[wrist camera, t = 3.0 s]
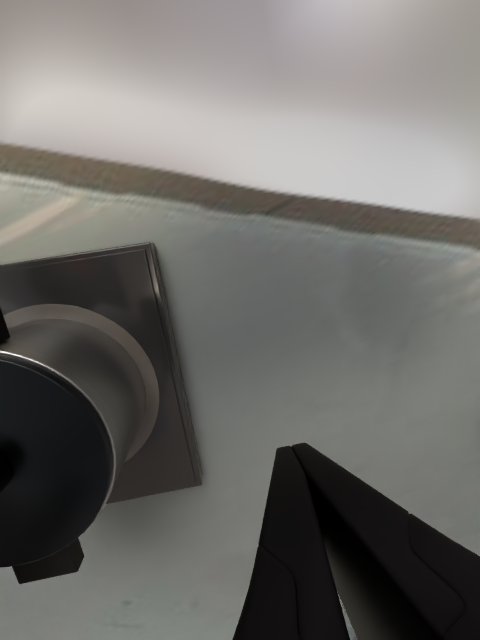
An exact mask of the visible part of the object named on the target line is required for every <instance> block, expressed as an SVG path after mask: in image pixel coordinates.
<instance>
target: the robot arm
mask: <svg viewBox="0 0 480 640" xmlns="http://www.w3.org/2000/svg"><path fill="white" fill-rule="evenodd" d="M336 589H337V590H336ZM337 591H338V593H337ZM338 594H339V596H340V598H341V601H342V603H343V605H344V608H345V610H346V612H347V615H348V617H349V620H350V622H351V624H352V627H353V629H354V631H355V634H356V636H357V638H358V640H480V556H478V555H477V554H475V553H473V552H471V551H470V550H468V549H466V548H465V547H463V546H461V545H460V544H458V543H456V542H454V541H453V540H451V539H450V538H448V537H446V536H445V535H443V534H442V533H440V532H439V531H437V530H436V529H434V528H432V527H431V526H429V525H428V524H426V523H425V522H423V521H422V520H420V519H419V518H417V517H416V516H414V515H413V514H409V513H408V511H407V510H405V509H404V508H402V507H401V506H399V505H398V504H396V503H395V502H393V501H392V500H390V499H389V498H387V497H386V496H384V495H383V494H381V493H380V492H378V491H377V490H375V489H374V488H372V487H371V486H369V485H368V484H366V483H365V482H363V481H362V480H360V479H359V478H357V477H356V476H354V475H353V474H351V473H350V472H349V471H347V470H346V469H344V468H343V467H341V466H340V465H338V464H337V463H335V462H334V461H332V460H331V459H329V458H328V457H326V456H325V455H323V454H322V453H320V452H319V451H317V450H316V449H314V448H313V447H311V446H310V445H308V444H307V443H300V444H295V445H293V446H292V447H291V446H285V447H280V448H277V451H276V456H275V461H274V466H273V471H272V476H271V482H270V487H269V492H268V497H267V502H266V508H265V513H264V518H263V523H262V528H261V534H260V539H259V546H258V548H257V553H256V559H255V564H254V568H253V572H252V577H251V581H250V585H249V589H248V592H247V596H246V599H245V602H244V606H243V609H242V613H241V616H240V619H239V622H238V625H237V628H236V631H235V634H234V637H233V640H350V638H349V634H348V631H347V627H346V623H345V619H344V616H343V612H342V608H341V604H340V601H339V597H338Z"/></svg>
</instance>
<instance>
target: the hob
mask: <svg viewBox="0 0 480 640" xmlns="http://www.w3.org/2000/svg"><path fill="white" fill-rule="evenodd" d="M0 307H1V310H2V313H3V316H4V319H5V322H6V325H7V328H11V327H14V326H17V325H20V324H23V323H26V322H30V321H34V320H39V319H66V320H73V321H77V322H81V323H84V324H87V325H89V326H92V327H94V328H97V329H98V330H100V331H102V332H104V333H106V334H107V335H109V336H110V337H111V338H113V339H114V340H116V341H117V342H118V343H119V344H120V345H121V346H122V347H123V348H124V349H125V350H126V351H127V353H128V354H129V355H130V356H131V358H132V359H133V361H134V362H135V364H136V365H137V368H138V370H139V372H140V374H141V377H142V380H143V383H144V389H145V411H144V415H143V419H142V422H141V425H140V427H139V429H138V431H137V434H136V436H135V438H134V441H133V443H132V445H131V448H130V450H129V452H128V454H127V457H126V459H125V461H124V464H123V466H122V468H121V471H120V473H119V475H118V478H117V480H116V482H115V484H114V487H113V489H112V491H111V494H110V496H109V498H108V500H107V503H106V504H109V503H114V502H119V501H124V500H129V499H134V498H139V497H144V496H149V495H154V494H159V493H164V492H169V491H174V490H179V489H184V488H189V487H194V486H199V485H201V484H202V469H201V465H200V460H199V455H198V450H197V446H196V441H195V436H194V431H193V427H192V422H191V417H190V413H189V408H188V403H187V398H186V394H185V389H184V384H183V379H182V375H181V370H180V365H179V360H178V356H177V351H176V346H175V341H174V337H173V332H172V327H171V323H170V318H169V313H168V308H167V304H166V299H165V294H164V289H163V285H162V280H161V275H160V270H159V266H158V261H157V256H156V251H155V247H154V244H153V243H149V242H148V243H141V244H135V245H128V246H122V247H115V248H109V249H102V250H96V251H89V252H83V253H76V254H69V255H63V256H56V257H50V258H43V259H37V260H30V261H24V262H17V263H11V264H4V265H0Z"/></svg>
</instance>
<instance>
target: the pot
mask: <svg viewBox="0 0 480 640" xmlns="http://www.w3.org/2000/svg"><path fill="white" fill-rule="evenodd" d="M144 411H145V389H144V383H143V380H142V377H141V374H140V372H139V370H138V368H137V365H136V364H135V362H134V361H133V359H132V358H131V356H130V355H129V354H128V353H127V351H126V350H125V349H124V348H123V347H122V346H121V345H120V344H119V343H118V342H117V341H116V340H114V339H113V338H111V337H110V336H109V335H107V334H106V333H104V332H102V331H100V330H98V329H97V328H94V327H92V326H89V325H87V324H84V323H81V322H77V321H73V320H66V319H39V320H34V321H30V322H26V323H23V324H20V325H17V326H14V327H11V328H7V325H6V322H5V319H4V316H3V313H2V310H1V307H0V567H10V566H12V568H13V570H14V573H15V575H16V578H17V580H18V583H19V584H22V583H27V582H32V581H36V580H41V579H46V578H51V577H55V576H60V575H65V574H70V573H74V572H77V571H78V570H79V567H80V565H81V563H82V560H83V558H84V554H83V551H82V548H81V545H80V542H79V539H78V537H79V536H80V535H81V534H83V533H84V532H85V531H86V529H87V528H88V527H89V526H90V525H91V524H92V522H93V521H94V519H95V518H96V517H97V516H98V515H99V514H100V512H101V511H102V509H103V507H104V506H105V504H106V503H107V500H108V498H109V496H110V494H111V491H112V489H113V487H114V484H115V482H116V480H117V478H118V475H119V473H120V471H121V468H122V466H123V464H124V461H125V459H126V457H127V454H128V452H129V450H130V448H131V445H132V443H133V441H134V438H135V436H136V434H137V431H138V429H139V427H140V425H141V422H142V419H143V415H144Z"/></svg>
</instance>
